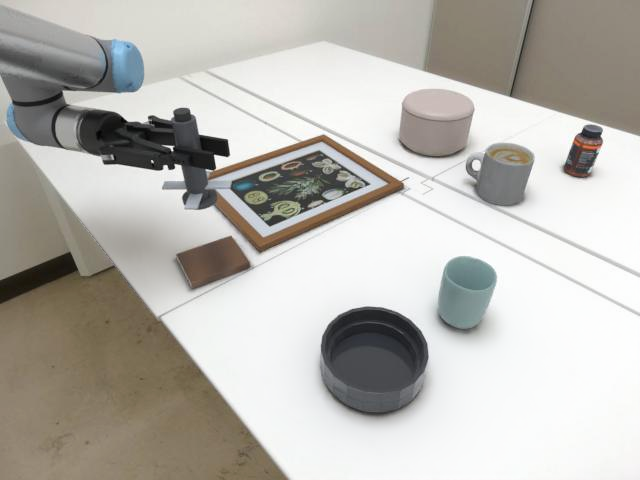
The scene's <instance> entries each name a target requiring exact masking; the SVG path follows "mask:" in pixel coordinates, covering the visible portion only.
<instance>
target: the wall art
mask: <svg viewBox="0 0 640 480" xmlns="http://www.w3.org/2000/svg"><path fill="white" fill-rule="evenodd" d="M208 181H232V184H231V188H230V189H214V190H215V191H216V193H217V201H216V203H215V204H214V205H215V207H216V208H218V210H219V211H220V212H221V213H222V214H223V215H224V216H225V217H226V218H227V219H228V220H229V221H230V222H231V223H232V224H233V226H234V227H236V229H237V230H238V231H239V232H240V233H241V234H242V235H243V237H245V238H246V239H247V240H248V242H250V243H251V244H252V246H254V247H255V249H256V250H257V251H258V252H259V253H260V252H263V251H265V250H269V249H270V248H272V247H275V246H277V245H279V244H281V243H284V242H286V241H289V240H290V239H293V238H295V237H297V236H299V235H301V234H302V235H303V234H304V233H306V232H308V231H311V230H313V229H315V228H318V227H320V226H322V225H325V224H326V223H329V222H332V221H333V220H336V219H338V218H340V217H342V216H344V215H346V214H347V215H348V214H350V213H351V212H353V211H356V210H358V209H360V208H362V207H365V206H367V205H370V204H372V203H374V202H377V201H379V200H381V199H383V198H385V197H388V196H390V195H392V194H394V193H396V192H398V191H401V190H403V189H404V186H405V183H404V182H402V181H401V180H399V179H397V178H396V177H394V176H393V175H391V174H389V173H388V172H386V171H385V170H383V169H381V168H380V167H378V166H377V165H375V164H373V163H372V162H370V161H368V160H366V159H365V158H364V157H362V156H361V155H359V154H357V153H355V152H354V151H352V150H351V149H349V148H347V147H346V146H345V145H342V144H341V143H339V142H337V141H336V140H334V139H333V138H331V137H329V136H328V135H326V134H324V133H323V134H320V135H317V136H314V137H311V138H308V139H305V140H303V141H299V142H296V143H293V144H290V145H288V146H284V147H281V148H278V149H275V150H272V151H269V152H266V153H263V154H261V155H257V156H254V157H251V158H249V159H245V160H242V161H239V162H236V163H233V164H230V165H227V166H224V167H221V168H218V169H215V170H214V171H212V170H211V171H210V175H209V178H208Z"/></svg>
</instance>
